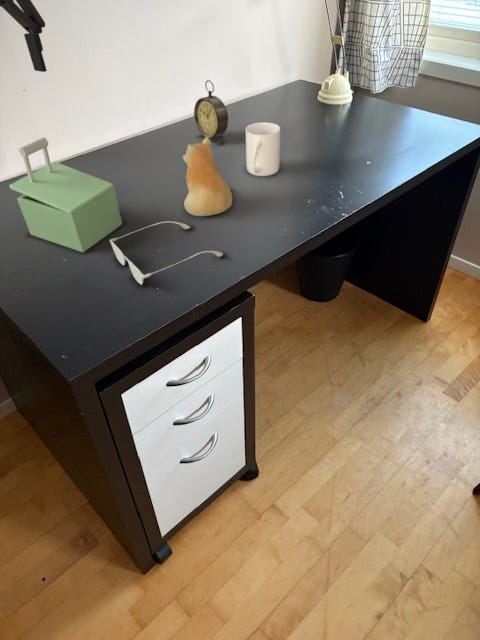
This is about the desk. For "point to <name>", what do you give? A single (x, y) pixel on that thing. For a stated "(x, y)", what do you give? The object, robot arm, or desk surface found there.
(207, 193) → the figurine
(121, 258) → the eyeglasses
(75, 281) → the desk surface
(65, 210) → the green box lid
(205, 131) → the alarm clock
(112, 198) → the green rectangular box
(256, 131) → the mug
